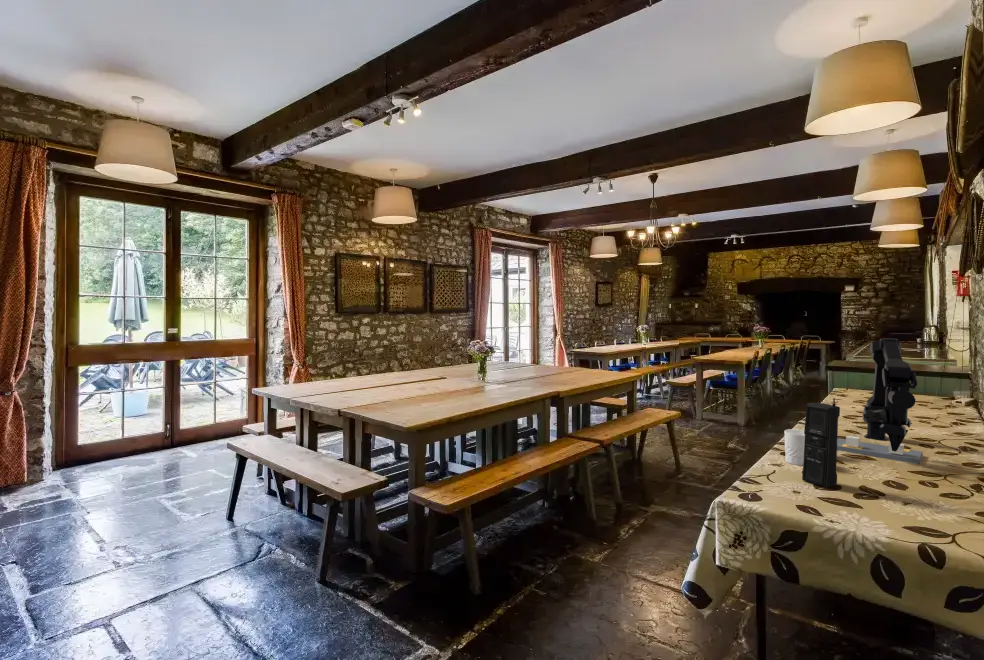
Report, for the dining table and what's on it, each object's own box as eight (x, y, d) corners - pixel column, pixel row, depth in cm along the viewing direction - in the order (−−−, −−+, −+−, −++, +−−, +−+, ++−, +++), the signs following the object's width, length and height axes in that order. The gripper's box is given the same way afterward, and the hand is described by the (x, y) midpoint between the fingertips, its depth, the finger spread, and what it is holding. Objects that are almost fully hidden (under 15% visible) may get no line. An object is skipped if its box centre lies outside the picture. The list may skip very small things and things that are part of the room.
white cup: (802, 468, 155) (803, 436, 155) (778, 461, 162) (779, 430, 162) (817, 464, 159) (818, 433, 158) (792, 457, 166) (793, 428, 165)
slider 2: (890, 450, 167) (890, 442, 167) (903, 453, 165) (904, 444, 165) (888, 452, 165) (889, 443, 165) (902, 455, 163) (903, 446, 163)
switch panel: (838, 442, 185) (838, 437, 185) (922, 455, 168) (922, 451, 168) (830, 449, 176) (830, 444, 176) (918, 464, 159) (919, 459, 159)
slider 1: (847, 443, 176) (847, 435, 176) (859, 445, 174) (860, 437, 173) (845, 445, 174) (845, 437, 174) (858, 447, 171) (858, 438, 171)
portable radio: (797, 479, 144) (799, 394, 143) (810, 476, 147) (813, 393, 146) (824, 488, 137) (827, 399, 136) (838, 485, 140) (841, 397, 138)
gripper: (870, 397, 173) (868, 441, 174) (860, 404, 160) (858, 451, 161) (911, 401, 165) (909, 447, 166) (905, 409, 152) (903, 459, 153)
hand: (894, 451), depth 162 cm, fingers closed
